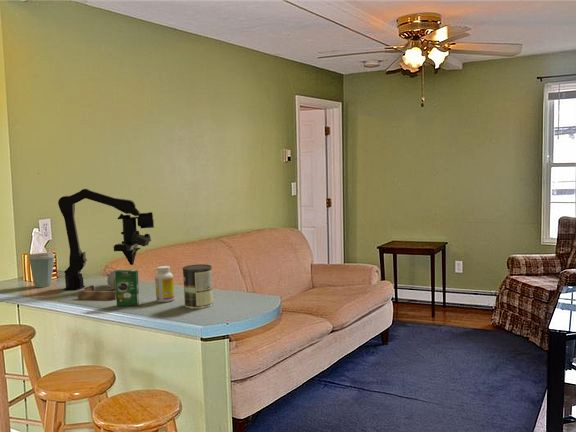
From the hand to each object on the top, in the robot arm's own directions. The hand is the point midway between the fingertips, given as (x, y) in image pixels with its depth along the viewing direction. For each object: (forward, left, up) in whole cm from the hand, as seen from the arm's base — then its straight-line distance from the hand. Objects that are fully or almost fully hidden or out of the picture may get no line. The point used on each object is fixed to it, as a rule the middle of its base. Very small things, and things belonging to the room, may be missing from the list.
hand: (131, 264), depth 253 cm
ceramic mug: (+1, -10, -9) cm, 13 cm away
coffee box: (+18, -36, -9) cm, 42 cm away
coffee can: (+45, -34, -9) cm, 57 cm away
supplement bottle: (+29, -28, -9) cm, 42 cm away
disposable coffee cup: (-40, -6, -9) cm, 41 cm away
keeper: (0, -22, -9) cm, 24 cm away
